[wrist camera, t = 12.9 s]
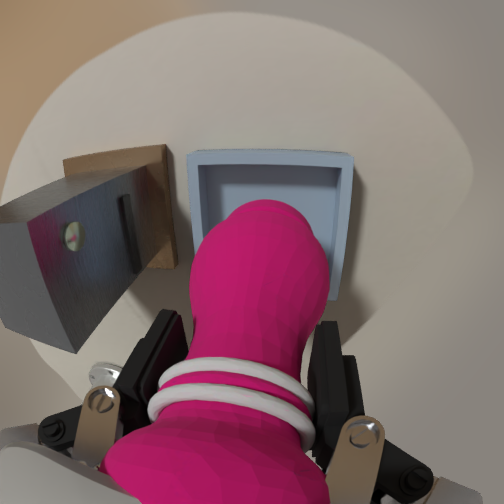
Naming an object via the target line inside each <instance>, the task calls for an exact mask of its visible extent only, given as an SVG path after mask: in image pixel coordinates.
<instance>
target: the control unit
mask: <svg viewBox="0 0 504 504" xmlns="http://www.w3.org/2000/svg"><path fill="white" fill-rule="evenodd" d="M63 166H64V173H65V177H64V178H62V179H59V180H57V181H54V182H52V183H50V184H47V185H45V186H43V187H40V188H38V189H36V190H33V191H31V192H29V193H27V194H25V195H23V196H21V197H18V198H16V199H14V200H12V201H10V202H8V203H6V204H4V205H2V206H0V318H1V320H2V322H3V324H4V326H5V328H8V329H10V330H12V331H15V332H17V333H19V334H22V335H24V336H27V337H29V338H32V339H34V340H37V341H40V342H42V343H45V344H48V345H50V346H53V347H56V348H59V349H62V350H65V351H68V352H71V353H74V354H77V352H78V351H79V350H80V348H81V347H82V346H83V344H84V343H85V342H86V340H87V339H88V338H89V336H90V335H91V334H92V332H93V331H94V330H95V328H96V327H97V326H98V325H99V323H100V322H101V321H102V319H103V318H104V317H105V316H106V314H107V313H108V312H109V311H110V309H111V308H112V307H113V306H114V304H115V303H116V302H117V301H118V299H119V298H120V297H121V296H122V295H123V293H124V292H125V291H126V290H127V289H128V287H129V286H130V285H131V284H132V283H133V281H134V280H135V279H136V278H137V277H138V275H139V274H140V273H141V272H142V271H143V270H144V268H145V267H148V268H163V269H175V268H176V267H177V265H178V258H177V251H176V243H175V236H174V228H173V219H172V210H171V201H170V191H169V180H168V169H167V155H166V144H162V145H152V146H143V147H134V148H127V149H119V150H112V151H106V152H99V153H93V154H88V155H82V156H77V157H72V158H67V159H64V160H63Z"/></svg>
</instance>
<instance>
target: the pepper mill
mask: <svg viewBox="0 0 504 504" xmlns="http://www.w3.org/2000/svg"><path fill="white" fill-rule="evenodd" d="M329 290H330V286H329V265H328V261H327V258H326V255H325V252H324V250H323V248H322V246H321V244H320V243H319V241H318V240H317V239H316V237H315V236H314V234H313V231H312V229H311V226H310V224H309V222H308V221H307V220H306V218H305V217H304V216H303V215H302V214H301V213H300V212H299V211H298V210H297V209H295V208H294V207H292V206H290V205H288V204H286V203H284V202H281V201H277V200H271V199H260V200H254V201H250V202H248V203H245V204H243V205H241V206H240V207H238V208H237V209H235V210H234V211H233V212H232V213H231V214H230V215H229V216H228V218H227V219H225V220H224V221H222V222H221V223H219V224H217V225H216V226H215V227H214V228H213V229H212V230H210V231H209V233H208V234H207V235H206V236H205V238H204V239H203V241H202V242H201V244H200V246H199V248H198V250H197V253H196V255H195V257H194V260H193V263H192V266H191V273H190V283H189V294H190V302H191V308H192V315H193V323H194V331H193V339H192V342H191V346H190V349H189V353H188V356H187V357H186V359H185V360H184V361H182V362H180V363H177V364H175V365H173V366H172V367H170V368H169V369H167V370H166V371H165V372H164V373H163V374H162V376H161V377H160V379H159V382H158V386H157V393H156V394H155V395H154V396H153V397H152V398H151V399H150V402H149V405H148V415H149V419H150V422H151V423H152V424H151V425H149V426H146V427H143V428H140V429H137V430H134V431H132V432H131V433H129V434H127V435H126V436H124V437H122V438H121V439H119V440H118V441H117V442H116V443H115V444H114V445H113V446H112V447H111V448H110V449H109V450H108V452H107V453H106V455H105V457H104V458H103V460H102V462H101V464H100V468H99V472H102V473H104V474H106V475H109V476H111V477H112V478H113V479H114V481H115V482H116V483H117V484H118V485H120V486H121V487H122V488H123V489H125V490H126V491H127V492H129V493H130V494H131V495H133V496H134V497H135V498H137V499H138V500H139V501H140V502H141V503H142V504H330V497H329V489H328V485H327V483H326V481H325V474H324V473H323V472H322V470H321V469H320V468H319V467H318V466H317V465H316V464H315V463H314V462H313V461H312V460H311V459H310V458H309V457H308V456H307V455H306V454H305V453H306V452H307V451H308V450H309V449H310V448H311V447H312V445H313V443H314V441H315V435H316V432H315V428H314V425H313V423H312V421H313V419H314V415H315V403H314V400H313V398H312V396H311V394H310V393H309V392H308V390H307V389H306V388H305V387H304V386H303V385H302V384H301V377H300V372H301V364H302V355H303V351H304V348H305V345H306V342H307V339H308V337H309V335H310V334H311V332H312V331H313V329H314V328H315V326H316V325H317V323H318V321H319V320H320V318H321V316H322V314H323V312H324V309H325V306H326V302H327V298H328V294H329Z"/></svg>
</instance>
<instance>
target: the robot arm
mask: <svg viewBox="0 0 504 504" xmlns="http://www.w3.org/2000/svg"><path fill="white" fill-rule="evenodd" d="M188 353H189V351H188V346H187V342H186V337H185V332H184V327H183V323H182V318H181V315H178V314H177V312H176V311H174V310H165V309H162V310H161V311H160V312H159V314H158V316H157V317H156V319H155V321H154V322H153V324H152V326H151V327H150V329H149V331H148V332H147V334H146V336H145V337H144V338H142V339H140V340H139V342H138V343H137V345H136V346H135V348H134V350H133V352H132V353H131V355H130V357H129V358H128V360H127V362H126V363H125V365H124V367H123V369H122V368H120V367H117V366H114V365H110V364H96V365H94V366H93V367H92V369H91V370H90V372H89V380H90V382H91V384H92V387H91V389H90V391H89V392H88V393H87V394H86V396H85V399H84V401H83V402H82V404H81V405H80V406H78V407H75V408H72V409H69V410H66V411H64V412H60V413H57V414H54V415H51V416H49V417H47V418H45V419H44V420H43V421H42V422H41V423H40V425H38V424H37V423H34V424H28V425H23V426H17V427H11V428H6V429H3V430H1V431H0V504H142V503H141V502H140V501H139V500H138V499H137V498H135V497H134V496H133V495H131V494H130V493H129V492H127V491H126V490H125V489H123V488H122V487H121V486H120V485H118V484H117V483H116V482H115V481H114V479H113V478H112V477H111V476H109V475H106V474H104V473H102V472H99V468H100V464H101V462H102V460H103V458H104V457H105V455H106V453H107V452H108V450H109V449H110V448H111V447H112V446H113V445H114V444H115V443H116V442H117V441H118V440H119V439H121V438H122V437H124V436H126V435H127V434H129V433H131V432H132V431H134V430H137V429H140V428H143V427H146V426H149V425H151V424H152V423H151V422H150V419H149V415H148V405H149V402H150V399H151V398H152V397H153V396H154V395H155V394H156V393H157V386H158V382H159V379H160V377H161V376H162V374H163V373H164V372H165V371H166V370H167V369H169V368H170V367H172V366H173V365H175V364H177V363H180V362H182V361H184V360H185V359H186V357H187V356H188ZM307 381H308V382H307V384H308V392H309V393H310V394H311V396H312V398H313V400H314V403H315V415H314V419H313V421H312V423H313V425H314V428H315V432H316V435H315V441H314V443H313V445H312V447H311V448H310V449H309V450H312V457H316V463H317V464H318V465H319V466H320V467H321V470H322V472H323V473H324V474H325V481H326V483H327V485H328V489H329V497H330V504H483V501H482V496H481V495H480V493H478V492H477V491H475V490H473V489H470V488H467V487H465V486H462V485H460V484H458V483H455V482H452V481H450V480H448V479H446V478H443V477H439V478H437V477H435V476H433V473H432V471H431V469H430V468H429V467H427V466H426V465H425V464H423V463H421V462H420V461H418V460H417V459H415V458H414V457H412V456H410V455H409V454H407V453H406V452H404V451H402V450H401V449H400V448H398V447H396V446H395V445H393V444H392V443H390V442H389V441H387V440H386V439H385V431H384V428H383V426H382V425H381V423H380V422H379V421H378V420H376V419H375V418H372V417H369V416H365V413H364V406H363V399H362V393H361V386H360V381H359V374H358V369H357V363H356V359H355V356H354V355H342V351H341V344H340V338H339V331H338V325H337V322H336V321H322V322H321V325H316V328H315V334H314V340H313V346H312V352H311V357H310V363H309V368H308V377H307Z"/></svg>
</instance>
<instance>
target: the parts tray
mask: <svg viewBox="0 0 504 504" xmlns="http://www.w3.org/2000/svg"><path fill="white" fill-rule="evenodd" d="M186 157H187V173H188V186H189V199H190V211H191V222H192V232H193V242H194V251H195V255H196V253H197V250H198V248H199V246H200V244H201V242H202V241H203V239H204V238H205V236H206V235H207V234H208V233H209V231H210V230H212V229H213V228H214V227H215V226H216V225H217V224H219V223H221V222H222V221H224V220H225V219H227V218H228V216H229V215H230V214H231V213H232V212H233V211H234V210H235V209H237V208H238V207H240V206H241V205H243V204H245V203H248V202H250V201H254V200H260V199H271V200H277V201H281V202H284V203H286V204H288V205H290V206H292V207H294V208H295V209H297V210H298V211H299V212H300V213H301V214H302V215H303V216H304V217H305V218H306V220H307V221H308V222H309V224H310V226H311V229H312V231H313V234H314V236H315V237H316V239H317V240H318V241H319V243H320V244H321V246H322V248H323V250H324V252H325V255H326V258H327V261H328V265H329V286H330V290H329V294H328V298H327V300H328V301H337V299H338V293H339V287H340V281H341V274H342V268H343V261H344V254H345V247H346V239H347V231H348V222H349V213H350V203H351V192H352V180H353V166H354V157H353V156H351V155H349V154H348V153H341V152H328V151H311V150H287V149H219V150H197V151H194V152H192V153H189V154H186Z"/></svg>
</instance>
